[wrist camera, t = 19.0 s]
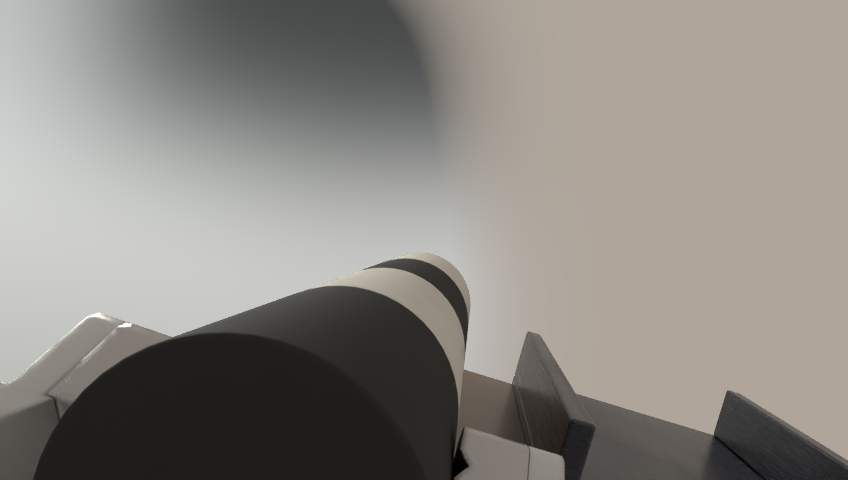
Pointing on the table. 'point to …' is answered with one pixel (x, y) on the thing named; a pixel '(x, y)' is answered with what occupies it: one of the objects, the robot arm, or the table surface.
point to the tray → (658, 435)
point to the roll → (287, 389)
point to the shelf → (489, 408)
